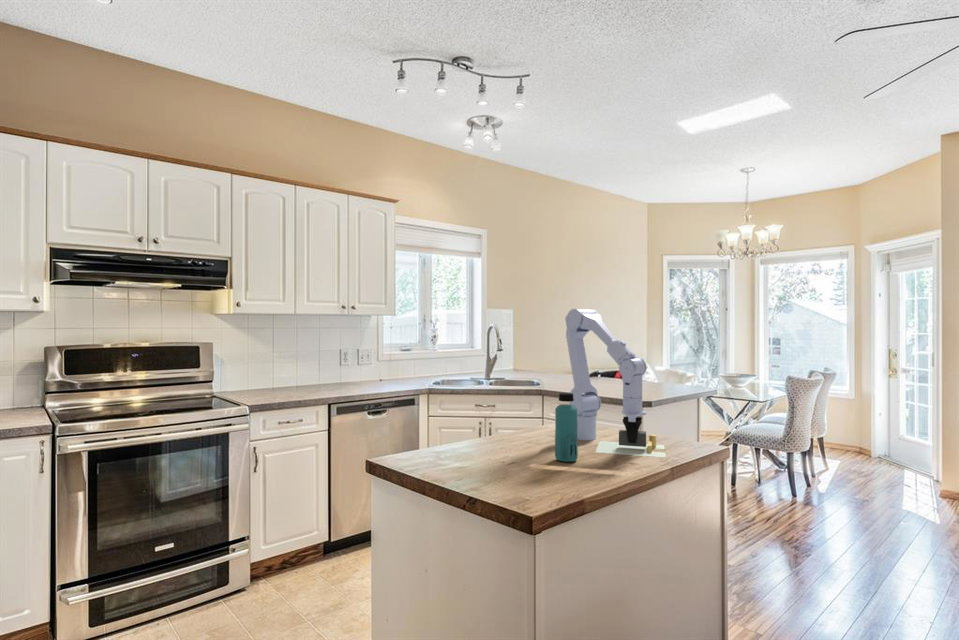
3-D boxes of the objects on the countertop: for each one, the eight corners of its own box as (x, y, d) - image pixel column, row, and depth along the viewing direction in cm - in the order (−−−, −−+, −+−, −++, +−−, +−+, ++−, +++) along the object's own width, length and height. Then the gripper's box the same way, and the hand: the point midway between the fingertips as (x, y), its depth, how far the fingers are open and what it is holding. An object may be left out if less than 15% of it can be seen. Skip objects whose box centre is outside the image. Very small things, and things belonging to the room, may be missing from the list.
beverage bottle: (571, 468, 152) (571, 395, 152) (550, 464, 156) (550, 393, 156) (582, 463, 157) (582, 392, 157) (561, 459, 161) (561, 390, 161)
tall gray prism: (618, 445, 170) (618, 432, 170) (619, 442, 173) (619, 429, 173) (646, 446, 168) (646, 433, 168) (646, 444, 171) (646, 431, 171)
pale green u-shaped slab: (595, 455, 166) (595, 440, 166) (599, 443, 181) (599, 430, 181) (665, 460, 160) (665, 445, 160) (664, 448, 175) (664, 434, 175)
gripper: (646, 401, 162) (646, 447, 162) (646, 394, 176) (646, 437, 176) (621, 400, 164) (621, 445, 164) (623, 393, 178) (623, 435, 178)
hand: (632, 441), depth 170 cm, fingers closed on tall gray prism, 3 cm apart
